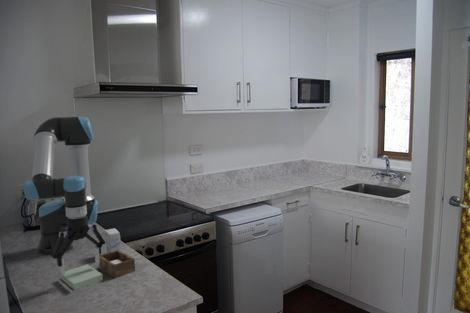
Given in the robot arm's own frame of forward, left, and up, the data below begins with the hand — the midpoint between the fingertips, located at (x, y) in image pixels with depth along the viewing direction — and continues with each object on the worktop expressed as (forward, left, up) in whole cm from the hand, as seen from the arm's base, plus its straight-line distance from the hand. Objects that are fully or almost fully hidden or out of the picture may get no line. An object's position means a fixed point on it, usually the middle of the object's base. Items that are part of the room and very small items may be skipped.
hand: (80, 267), depth 143 cm
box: (+2, +14, -5) cm, 15 cm away
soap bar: (+2, +14, -4) cm, 15 cm away
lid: (0, 0, -6) cm, 6 cm away
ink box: (-15, +21, -6) cm, 26 cm away
